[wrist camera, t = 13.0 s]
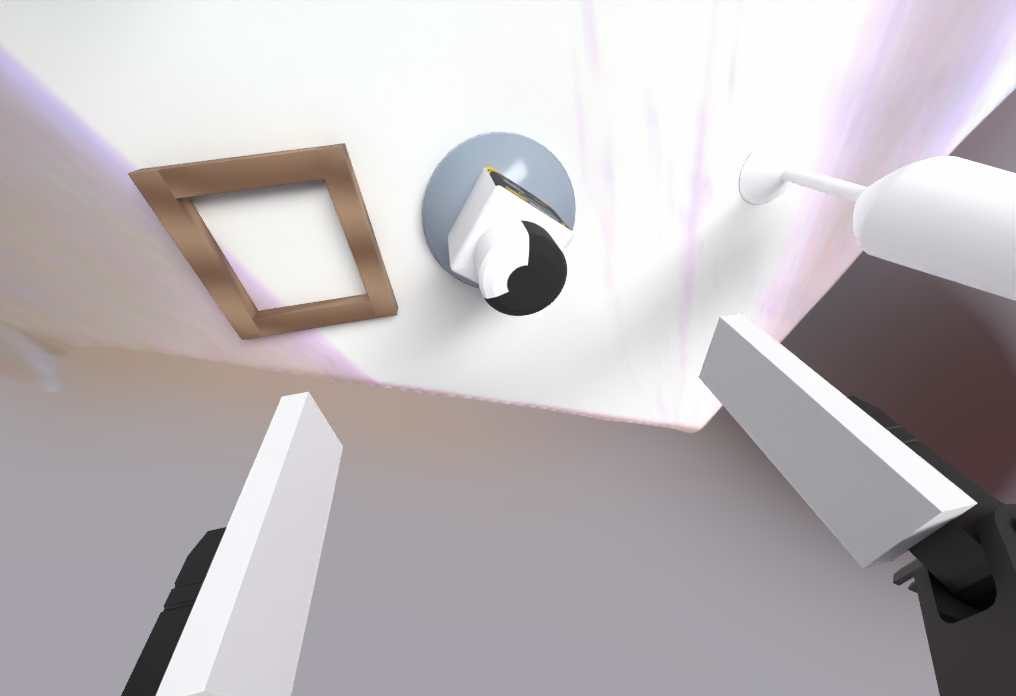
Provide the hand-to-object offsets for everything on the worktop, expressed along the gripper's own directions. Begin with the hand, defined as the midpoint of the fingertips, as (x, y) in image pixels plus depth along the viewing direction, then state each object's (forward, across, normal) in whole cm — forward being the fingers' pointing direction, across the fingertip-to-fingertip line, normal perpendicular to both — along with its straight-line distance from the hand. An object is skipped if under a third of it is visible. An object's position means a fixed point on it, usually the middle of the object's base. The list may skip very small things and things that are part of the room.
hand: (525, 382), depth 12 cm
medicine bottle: (+24, +3, -4) cm, 25 cm away
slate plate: (+25, +3, -4) cm, 26 cm away
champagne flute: (+25, +30, -3) cm, 39 cm away
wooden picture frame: (+25, -16, -4) cm, 30 cm away
